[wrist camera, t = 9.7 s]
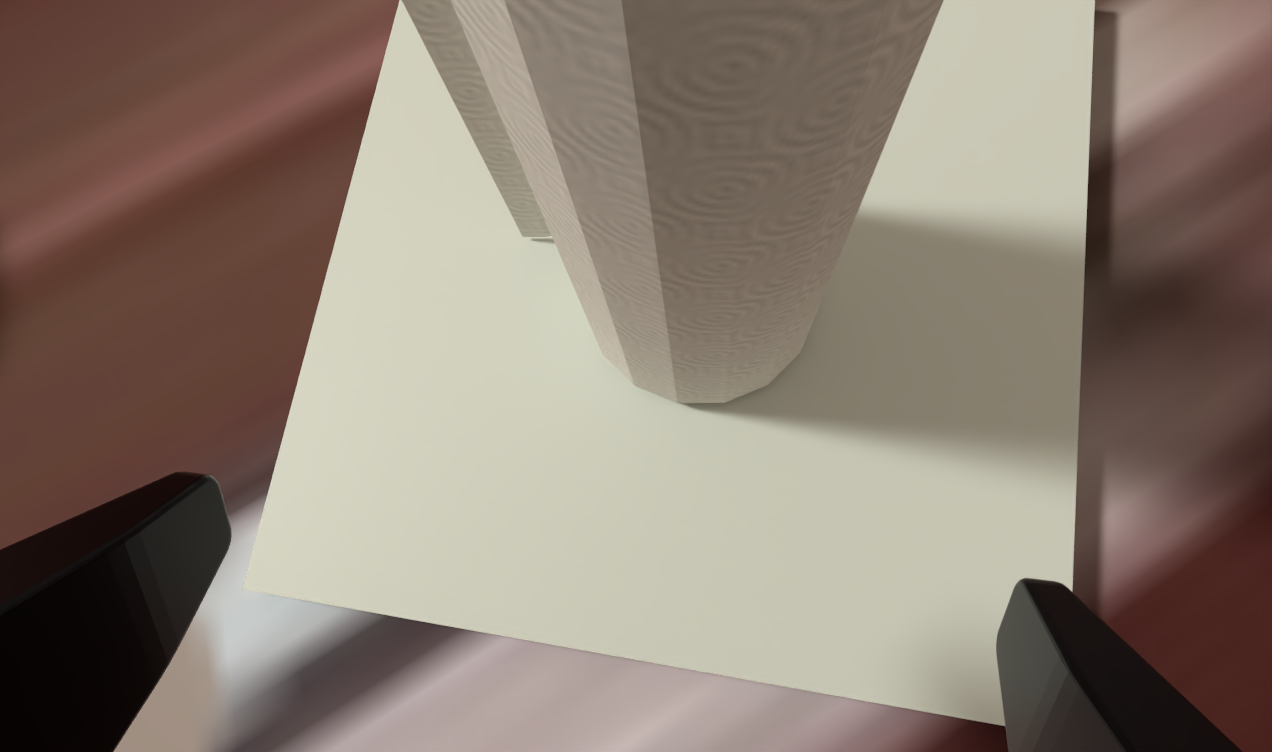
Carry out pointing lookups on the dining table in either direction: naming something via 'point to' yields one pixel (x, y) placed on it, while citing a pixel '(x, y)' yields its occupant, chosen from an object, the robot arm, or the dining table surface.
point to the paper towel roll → (684, 159)
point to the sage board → (713, 405)
